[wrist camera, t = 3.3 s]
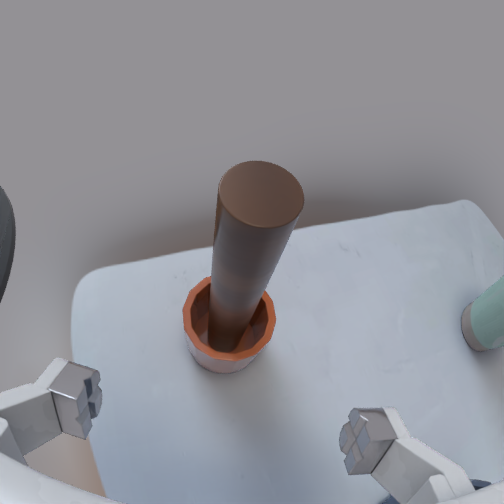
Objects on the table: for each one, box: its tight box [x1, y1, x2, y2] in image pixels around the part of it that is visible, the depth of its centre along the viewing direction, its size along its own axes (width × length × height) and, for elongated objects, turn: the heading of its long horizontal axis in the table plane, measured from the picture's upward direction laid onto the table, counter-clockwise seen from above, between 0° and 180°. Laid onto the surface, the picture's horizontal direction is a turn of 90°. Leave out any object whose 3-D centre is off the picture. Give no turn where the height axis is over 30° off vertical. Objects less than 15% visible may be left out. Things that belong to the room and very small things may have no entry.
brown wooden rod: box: [208, 161, 304, 353], centre depth 17 cm, size 3×3×18 cm
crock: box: [183, 276, 276, 373], centre depth 23 cm, size 6×6×6 cm
